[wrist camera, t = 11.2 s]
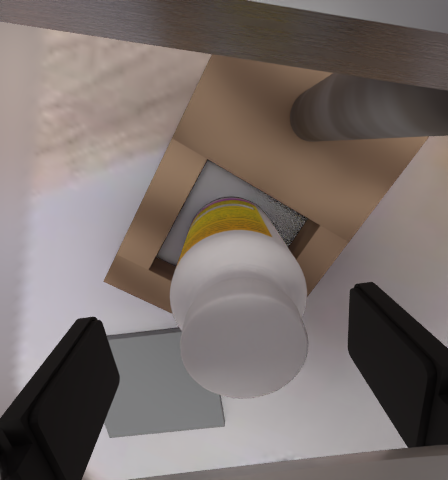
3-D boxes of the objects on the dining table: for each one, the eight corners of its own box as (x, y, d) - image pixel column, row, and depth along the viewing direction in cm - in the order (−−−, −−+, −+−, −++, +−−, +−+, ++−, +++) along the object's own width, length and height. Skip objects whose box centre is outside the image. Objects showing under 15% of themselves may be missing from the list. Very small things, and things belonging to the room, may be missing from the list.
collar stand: (264, -40, 16) (568, -1329, 2) (437, 91, 19) (1131, -82, 4) (115, 267, 23) (-61, 471, 8) (258, 335, 25) (307, 584, 11)
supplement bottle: (172, 233, 22) (110, 345, 10) (234, 177, 20) (255, 223, 8) (227, 288, 23) (235, 442, 11) (289, 240, 22) (372, 355, 10)
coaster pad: (208, 324, 25) (207, 329, 24) (224, 420, 28) (224, 426, 28) (78, 339, 25) (74, 343, 24) (111, 432, 29) (109, 437, 28)
